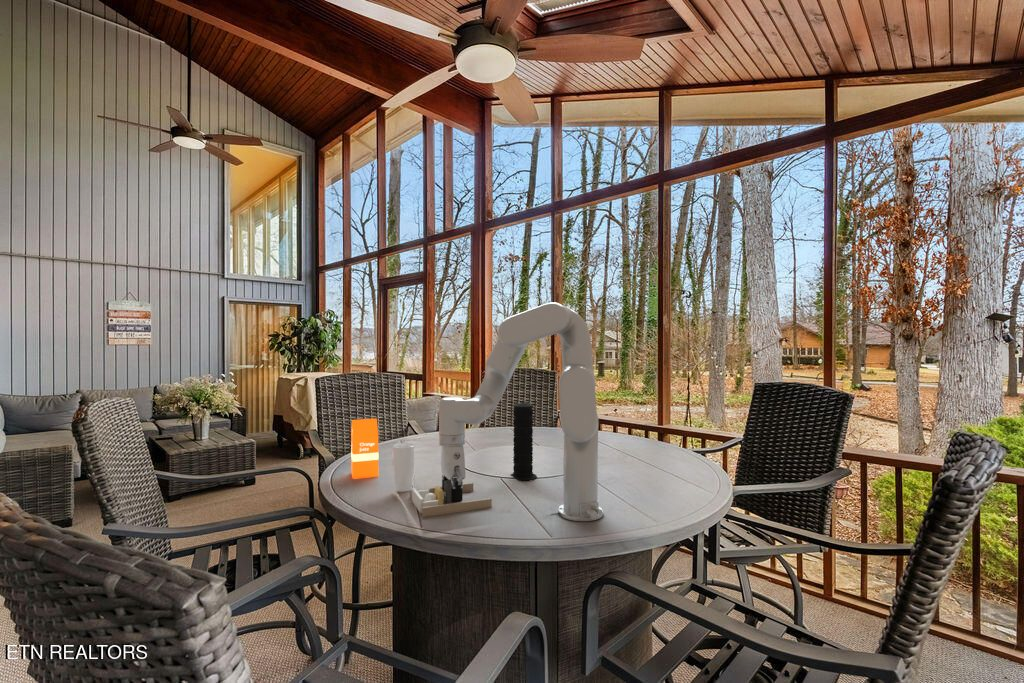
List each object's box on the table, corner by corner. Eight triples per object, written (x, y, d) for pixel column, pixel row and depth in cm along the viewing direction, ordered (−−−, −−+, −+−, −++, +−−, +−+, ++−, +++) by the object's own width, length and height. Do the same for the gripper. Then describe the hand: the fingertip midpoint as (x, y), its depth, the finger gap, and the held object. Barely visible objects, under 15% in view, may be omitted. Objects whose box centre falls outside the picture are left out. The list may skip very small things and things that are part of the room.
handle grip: (536, 481, 173) (538, 473, 183) (536, 404, 173) (538, 400, 183) (507, 481, 174) (510, 472, 184) (507, 404, 174) (510, 400, 184)
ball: (427, 494, 145) (424, 506, 145) (439, 495, 146) (436, 508, 146) (424, 490, 148) (421, 502, 148) (436, 492, 150) (433, 504, 149)
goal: (438, 511, 142) (438, 497, 142) (420, 513, 140) (420, 499, 140) (428, 499, 153) (428, 486, 153) (411, 501, 151) (411, 488, 151)
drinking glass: (393, 496, 158) (393, 448, 158) (392, 489, 164) (392, 443, 164) (415, 494, 160) (415, 447, 159) (413, 487, 166) (413, 442, 166)
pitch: (491, 510, 146) (491, 498, 146) (422, 520, 138) (422, 508, 138) (472, 492, 161) (472, 482, 161) (409, 501, 153) (409, 490, 153)
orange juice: (378, 476, 179) (378, 420, 179) (352, 479, 176) (352, 421, 176) (376, 470, 187) (375, 416, 186) (351, 473, 183) (350, 418, 183)
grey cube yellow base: (461, 503, 148) (461, 483, 148) (439, 506, 146) (439, 485, 146) (456, 498, 153) (456, 478, 153) (434, 501, 150) (434, 481, 150)
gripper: (473, 444, 143) (473, 504, 143) (455, 432, 159) (455, 487, 159) (447, 446, 140) (447, 507, 140) (432, 434, 156) (432, 489, 156)
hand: (452, 496), depth 150 cm, fingers open, 9 cm apart
